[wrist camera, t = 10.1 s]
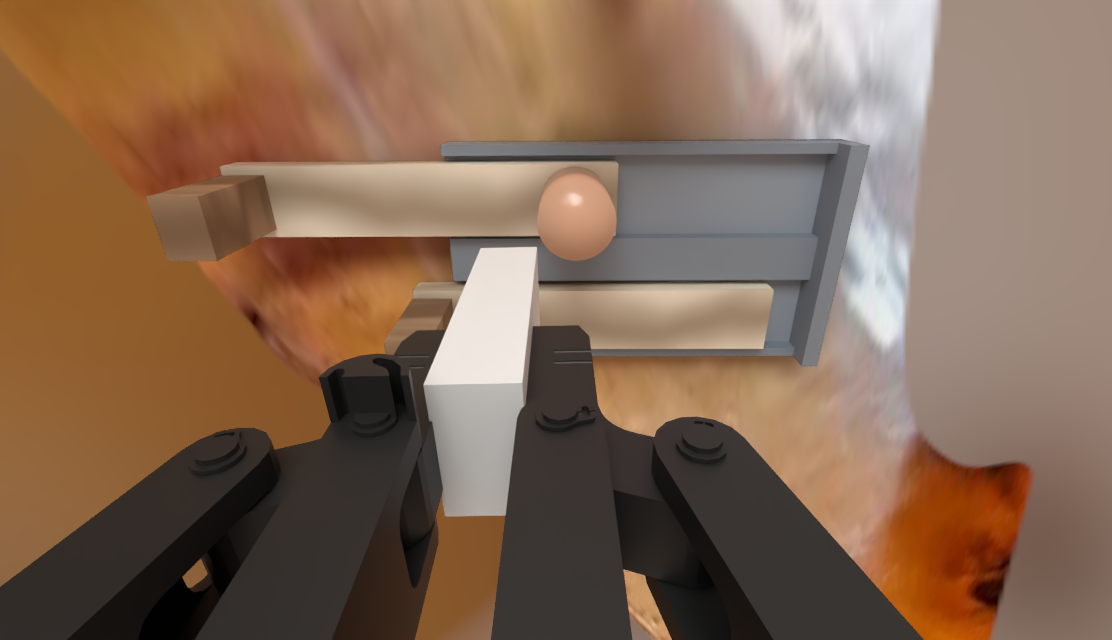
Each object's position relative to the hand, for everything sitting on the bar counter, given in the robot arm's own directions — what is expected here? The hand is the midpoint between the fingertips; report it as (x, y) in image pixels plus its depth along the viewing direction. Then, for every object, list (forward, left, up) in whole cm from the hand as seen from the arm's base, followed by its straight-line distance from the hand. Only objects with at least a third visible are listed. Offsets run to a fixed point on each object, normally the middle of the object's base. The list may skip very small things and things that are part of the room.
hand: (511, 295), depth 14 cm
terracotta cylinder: (+1, +2, -17) cm, 18 cm away
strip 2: (+9, +3, -19) cm, 21 cm away
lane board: (+5, +6, -20) cm, 22 cm away
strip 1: (+1, -7, -19) cm, 20 cm away
